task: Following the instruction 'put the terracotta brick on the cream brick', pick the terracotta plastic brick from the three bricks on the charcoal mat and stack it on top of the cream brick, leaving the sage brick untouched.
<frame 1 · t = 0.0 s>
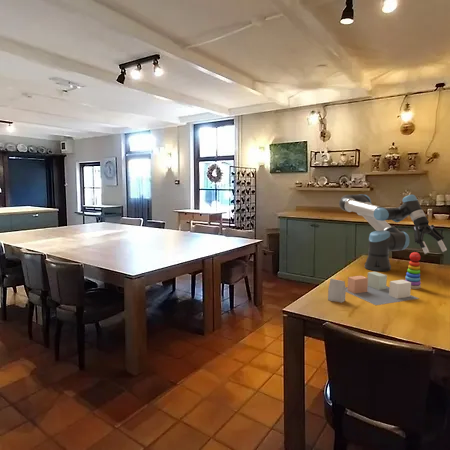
hand: (436, 252, 204), 15 cm above the table, fingers open, 13 cm apart
sage brick: (376, 287, 189), resting on charcoal mat
stacking toy: (412, 287, 190), on the table
ivan-chai tea box: (336, 301, 169), on the table
cream brick: (399, 295, 175), resting on charcoal mat
terracotta brick: (357, 291, 182), resting on charcoal mat
charcoal mat: (377, 293, 179), on the table
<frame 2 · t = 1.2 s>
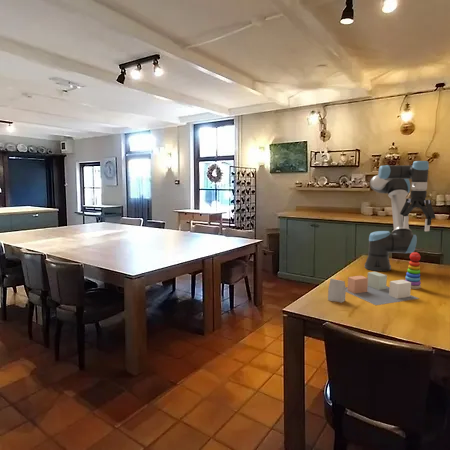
hand: (415, 229, 198), 29 cm above the table, fingers open, 13 cm apart
nothing on the table moved.
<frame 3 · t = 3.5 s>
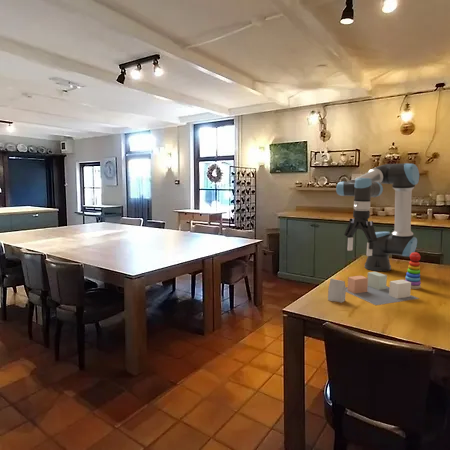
hand: (359, 253, 179), 20 cm above the table, fingers open, 13 cm apart
nothing on the table moved.
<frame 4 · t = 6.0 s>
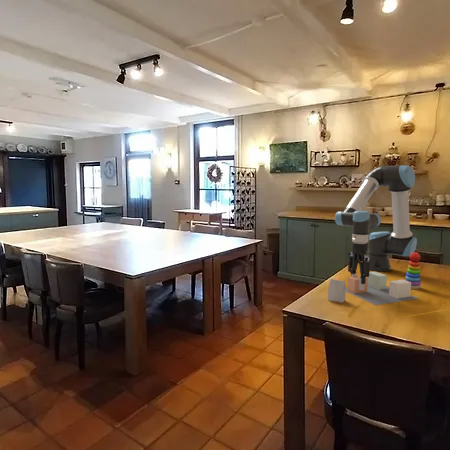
hand: (357, 288, 182), 2 cm above the table, fingers closed on terracotta brick, 5 cm apart
terracotta brick: (357, 291, 182), resting on charcoal mat, touching gripper
everything else where it was.
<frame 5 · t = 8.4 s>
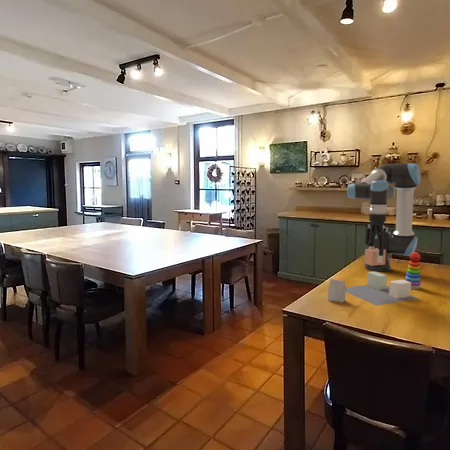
hand: (375, 260, 177), 17 cm above the table, fingers closed on terracotta brick, 5 cm apart
terracotta brick: (374, 263, 177), point 15 cm above the table, touching gripper
everything else where it was.
when the fingers open (11 cm above the table, at t = 10.8 s): terracotta brick drops 2 cm, resting on cream brick.
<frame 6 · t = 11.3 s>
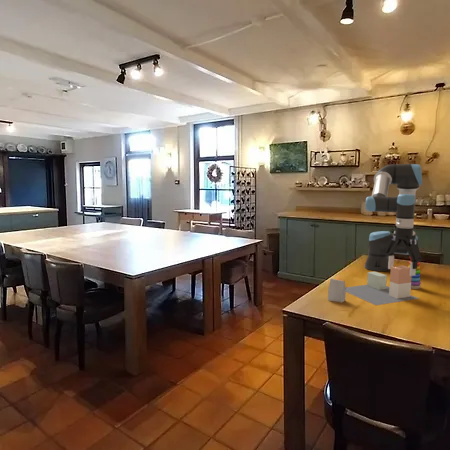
hand: (401, 272, 173), 12 cm above the table, fingers open, 12 cm apart
cream brick: (399, 295, 175), resting on charcoal mat, touching terracotta brick
terracotta brick: (400, 281, 174), point 7 cm above the table, touching cream brick
everything else where it was.
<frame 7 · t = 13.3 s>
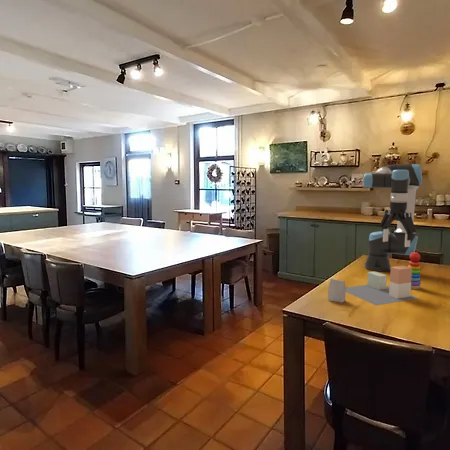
hand: (395, 244, 182), 24 cm above the table, fingers open, 13 cm apart
nothing on the table moved.
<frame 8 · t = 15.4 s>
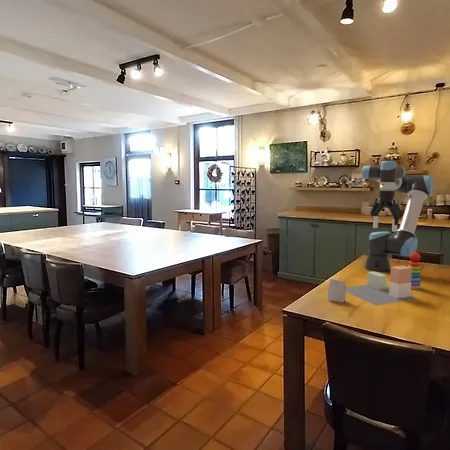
hand: (384, 229, 198), 29 cm above the table, fingers open, 13 cm apart
nothing on the table moved.
at the end: terracotta brick 0.0 cm off-centre on the cream brick, point 7.0 cm above the cream brick's base; terracotta brick tilted 0°; sage brick moved 0.0 cm from its start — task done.
